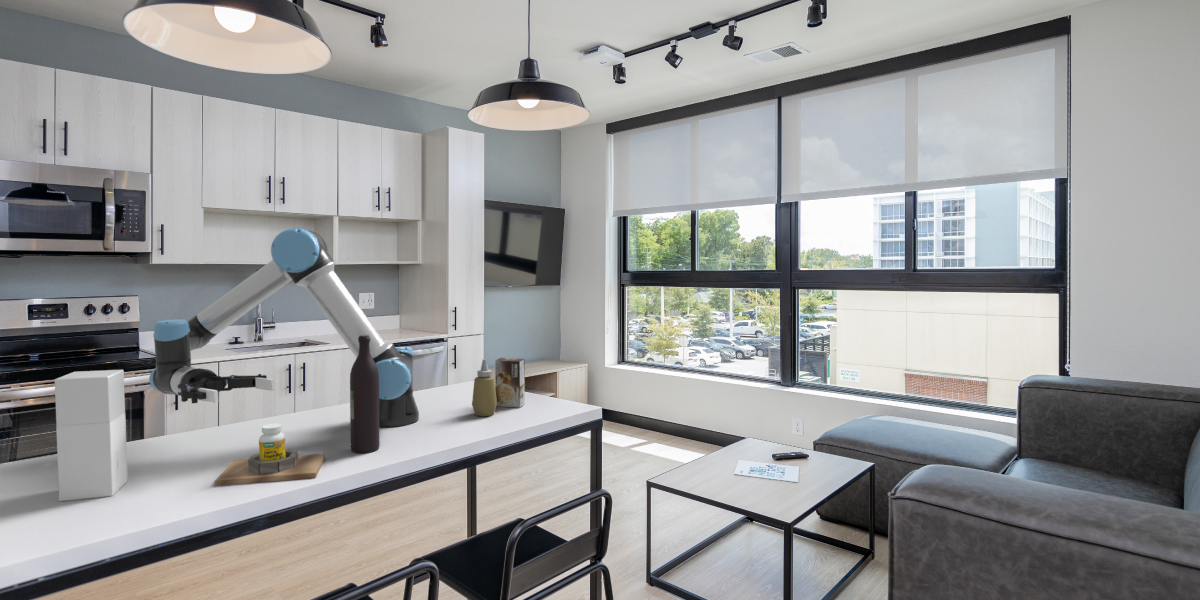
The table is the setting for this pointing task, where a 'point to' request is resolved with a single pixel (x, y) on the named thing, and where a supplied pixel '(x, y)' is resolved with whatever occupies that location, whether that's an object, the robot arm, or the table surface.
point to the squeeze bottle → (484, 392)
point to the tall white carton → (91, 434)
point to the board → (271, 469)
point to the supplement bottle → (272, 443)
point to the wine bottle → (364, 400)
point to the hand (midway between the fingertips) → (246, 390)
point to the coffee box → (510, 382)
